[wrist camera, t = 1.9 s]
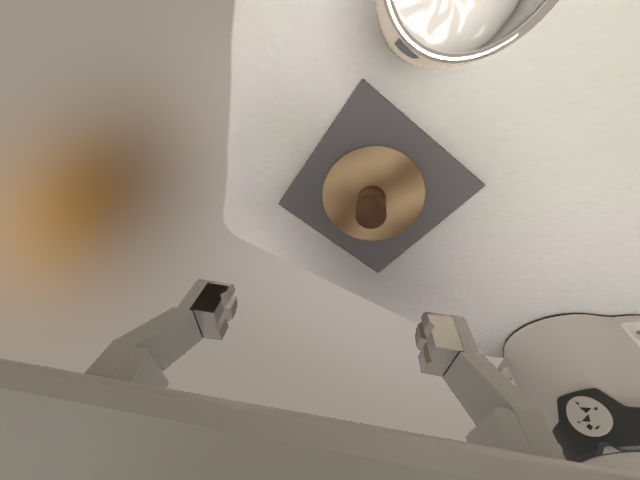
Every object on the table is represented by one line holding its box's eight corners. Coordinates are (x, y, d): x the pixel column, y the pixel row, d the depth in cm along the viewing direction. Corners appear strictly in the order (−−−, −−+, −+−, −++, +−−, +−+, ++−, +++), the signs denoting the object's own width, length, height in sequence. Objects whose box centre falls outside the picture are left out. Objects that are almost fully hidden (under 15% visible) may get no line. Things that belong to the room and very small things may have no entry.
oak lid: (447, 188, 27) (458, 208, 23) (376, 251, 33) (376, 276, 29) (365, 121, 25) (362, 131, 21) (305, 201, 31) (295, 221, 27)
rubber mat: (483, 183, 27) (485, 185, 26) (378, 270, 36) (378, 272, 35) (362, 78, 24) (362, 78, 23) (279, 201, 32) (278, 204, 32)
